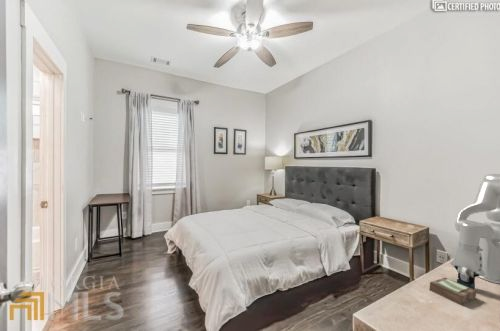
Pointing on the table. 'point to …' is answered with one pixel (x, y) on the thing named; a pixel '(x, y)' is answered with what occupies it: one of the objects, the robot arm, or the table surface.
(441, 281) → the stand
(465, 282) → the watch
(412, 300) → the table surface
